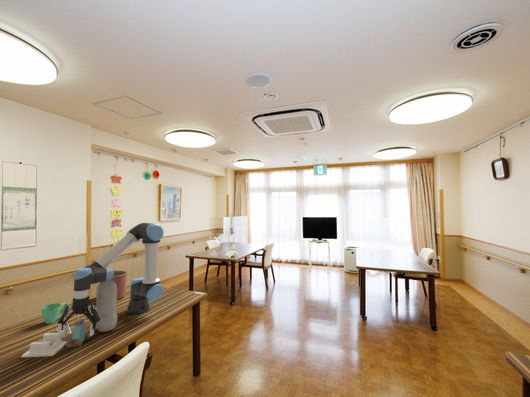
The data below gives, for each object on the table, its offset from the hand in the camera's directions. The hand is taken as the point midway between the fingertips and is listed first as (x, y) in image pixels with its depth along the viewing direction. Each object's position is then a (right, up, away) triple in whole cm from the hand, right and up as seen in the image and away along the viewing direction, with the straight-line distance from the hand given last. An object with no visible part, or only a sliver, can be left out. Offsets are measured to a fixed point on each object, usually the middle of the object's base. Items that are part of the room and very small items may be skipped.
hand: (78, 335), depth 135 cm
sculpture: (+6, -5, +14) cm, 16 cm away
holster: (0, -4, 0) cm, 4 cm away
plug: (0, -4, 0) cm, 4 cm away
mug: (-34, -4, +24) cm, 42 cm away
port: (-11, -3, -8) cm, 14 cm away
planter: (-22, -6, +65) cm, 69 cm away
